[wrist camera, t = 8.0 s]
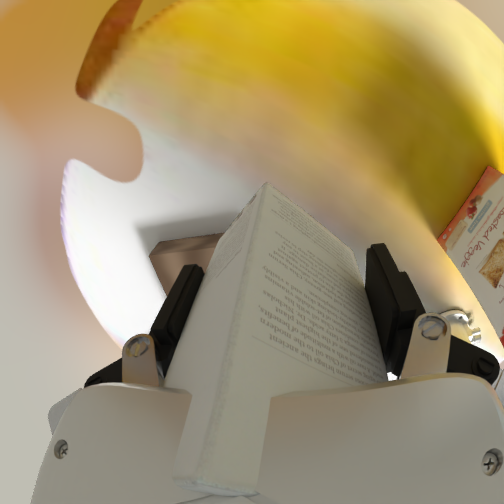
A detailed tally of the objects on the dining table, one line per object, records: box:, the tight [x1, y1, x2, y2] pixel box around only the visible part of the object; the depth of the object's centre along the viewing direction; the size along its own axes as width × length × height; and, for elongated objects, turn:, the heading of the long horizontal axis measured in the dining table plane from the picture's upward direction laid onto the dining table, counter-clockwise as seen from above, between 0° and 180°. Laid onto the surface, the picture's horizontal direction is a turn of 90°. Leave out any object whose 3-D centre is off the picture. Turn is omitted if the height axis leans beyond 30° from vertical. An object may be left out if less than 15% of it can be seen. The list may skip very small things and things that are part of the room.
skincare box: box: [163, 183, 388, 497], centre depth 9 cm, size 6×4×12 cm
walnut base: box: [149, 233, 224, 296], centre depth 38 cm, size 14×14×4 cm
